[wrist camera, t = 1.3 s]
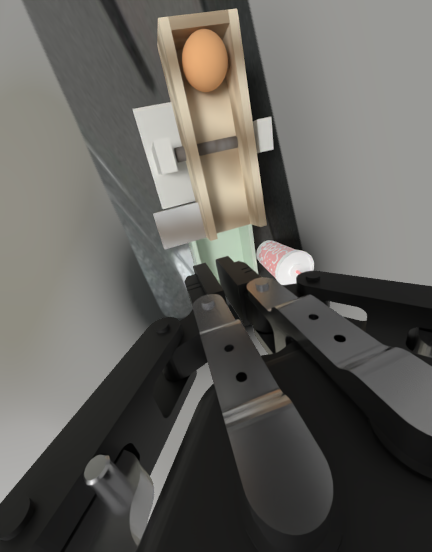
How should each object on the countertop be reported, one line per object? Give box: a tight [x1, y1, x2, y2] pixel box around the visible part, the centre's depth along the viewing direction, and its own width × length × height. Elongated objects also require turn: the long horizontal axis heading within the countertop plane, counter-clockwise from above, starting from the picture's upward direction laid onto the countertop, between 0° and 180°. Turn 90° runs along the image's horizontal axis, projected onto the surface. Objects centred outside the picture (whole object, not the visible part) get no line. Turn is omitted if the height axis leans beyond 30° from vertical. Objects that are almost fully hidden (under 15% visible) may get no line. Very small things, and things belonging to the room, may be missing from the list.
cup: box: [189, 224, 258, 284], centre depth 36 cm, size 11×9×5 cm
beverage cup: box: [256, 240, 314, 285], centre depth 35 cm, size 6×6×14 cm
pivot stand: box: [133, 102, 274, 209], centre depth 27 cm, size 12×14×10 cm
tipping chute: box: [153, 9, 267, 249], centre depth 23 cm, size 18×12×5 cm
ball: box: [182, 29, 228, 92], centre depth 20 cm, size 4×4×4 cm
